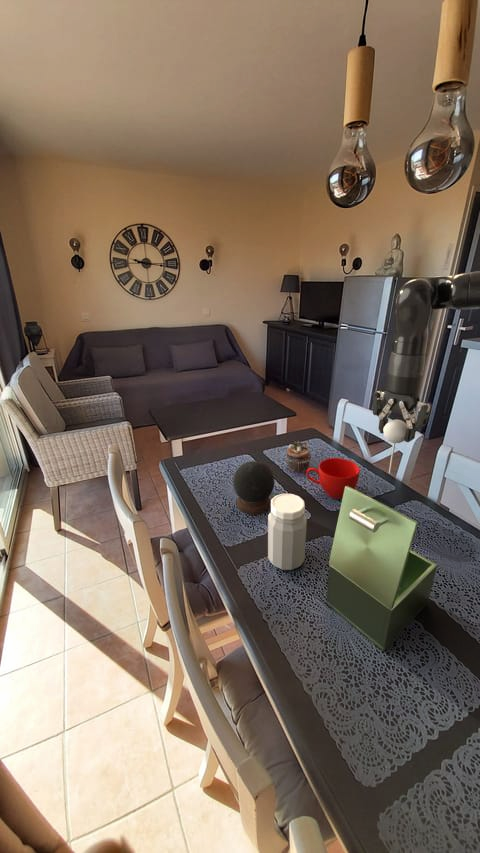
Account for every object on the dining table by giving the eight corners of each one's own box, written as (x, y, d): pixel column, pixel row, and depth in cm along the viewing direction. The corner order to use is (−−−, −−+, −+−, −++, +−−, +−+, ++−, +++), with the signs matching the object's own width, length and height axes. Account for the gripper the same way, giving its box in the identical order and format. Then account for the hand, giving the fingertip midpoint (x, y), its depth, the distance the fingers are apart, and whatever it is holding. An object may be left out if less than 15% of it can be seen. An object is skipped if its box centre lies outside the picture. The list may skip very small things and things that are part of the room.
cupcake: (280, 469, 137) (281, 445, 133) (292, 458, 145) (293, 436, 141) (303, 476, 132) (305, 452, 128) (314, 464, 140) (316, 441, 135)
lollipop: (407, 474, 93) (416, 421, 87) (393, 482, 91) (401, 427, 85) (386, 465, 98) (394, 414, 92) (372, 471, 95) (379, 419, 89)
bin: (370, 566, 92) (376, 529, 87) (427, 604, 82) (437, 564, 77) (325, 603, 83) (329, 564, 78) (383, 652, 72) (391, 610, 67)
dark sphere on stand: (244, 521, 110) (242, 479, 104) (227, 498, 121) (225, 459, 115) (281, 509, 115) (282, 468, 109) (262, 488, 126) (262, 450, 120)
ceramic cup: (306, 480, 130) (307, 455, 126) (355, 484, 127) (358, 459, 122) (304, 501, 118) (305, 475, 114) (358, 506, 115) (361, 479, 111)
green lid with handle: (347, 485, 72) (330, 491, 69) (418, 522, 61) (402, 531, 58) (330, 562, 78) (314, 571, 75) (393, 608, 67) (377, 620, 64)
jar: (300, 577, 90) (303, 518, 82) (262, 567, 93) (262, 510, 86) (307, 550, 98) (311, 495, 91) (273, 542, 101) (273, 488, 94)
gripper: (445, 374, 80) (431, 441, 87) (386, 363, 91) (378, 424, 97) (427, 381, 76) (415, 451, 83) (368, 368, 87) (361, 431, 93)
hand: (395, 436), depth 90 cm, fingers closed on lollipop, 6 cm apart
